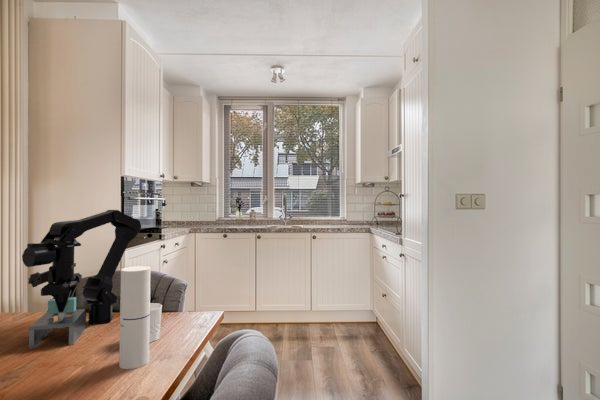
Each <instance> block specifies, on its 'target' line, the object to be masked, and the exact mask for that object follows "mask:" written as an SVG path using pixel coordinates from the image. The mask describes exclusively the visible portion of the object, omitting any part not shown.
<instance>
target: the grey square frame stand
mask: <svg viewBox="0 0 600 400" xmlns="http://www.w3.org/2000/svg"><path fill="white" fill-rule="evenodd" d="M68 315H70V316H68ZM56 316H57V317H58V313H53V314H48V311H46V312H45V313H44V314H43V315H42V316H40V317H39V318H38V319H37V320H35V321H34V322H33V323H32V324H31V325H30V326H28V350H34V349H35V348H36V347H37V346H39V345H40V344H41V342H42V341H43V340H44V339H45V338H47V336H48V335H49V334H50V333H51V332H52V329H60V328H59V327H63V328H68V346H72V345H74V344H75V343H76V342H77V341H78V339H79V338H80V336H81V335H82V334H83V333H84V331H85V330H86V328H87V308H79V309H77V308H76V310H75V311H74V312H66V317H65V318H64V319H63V320H62V321H59V322H55V318H54V317H56Z"/></svg>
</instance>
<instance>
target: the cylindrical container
mask: <svg viewBox="0 0 600 400" xmlns="http://www.w3.org/2000/svg"><path fill="white" fill-rule="evenodd" d="M151 268H152V267H150V266H147V265H146V266H145V265H137V266H135V265H134V266H127V267H123V268H121V269H120V296H119V297H120V302H119V303H120V305H119V306H120V307H119V361H118V363H119V364H118V365H119V368H120V369H122V370H134V369H139V368H143V367H145V366H146V365H147V364H149V362H150V342H149V339H150V303H151V270H152V269H151Z"/></svg>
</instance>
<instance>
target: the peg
mask: <svg viewBox="0 0 600 400" xmlns="http://www.w3.org/2000/svg"><path fill="white" fill-rule="evenodd" d="M76 309H77V297H76V296H74V297H73V296H72V297H71V298H69V299H68V301H67V304H66V306H65V309H64V311H63V312H59V311H58V308H57V305H56V302H55V299H54V298H50V299H49V300H47V312H48V314H53V313H58V316H57V320H54V322H59V321H62V320H63V319H64V318H65V317H67V315H66V312H74V311H75V310H76ZM62 328H64V327H59V328H58V329H62Z"/></svg>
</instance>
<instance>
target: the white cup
mask: <svg viewBox="0 0 600 400" xmlns="http://www.w3.org/2000/svg"><path fill="white" fill-rule="evenodd" d="M162 312H163V304H161V303H159V302H158V303H155V302H150V339H149V343H151V342H152V343H153V342H155V341H157V340H159V338H160V337H161V326H162V325H161V324H162Z"/></svg>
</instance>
